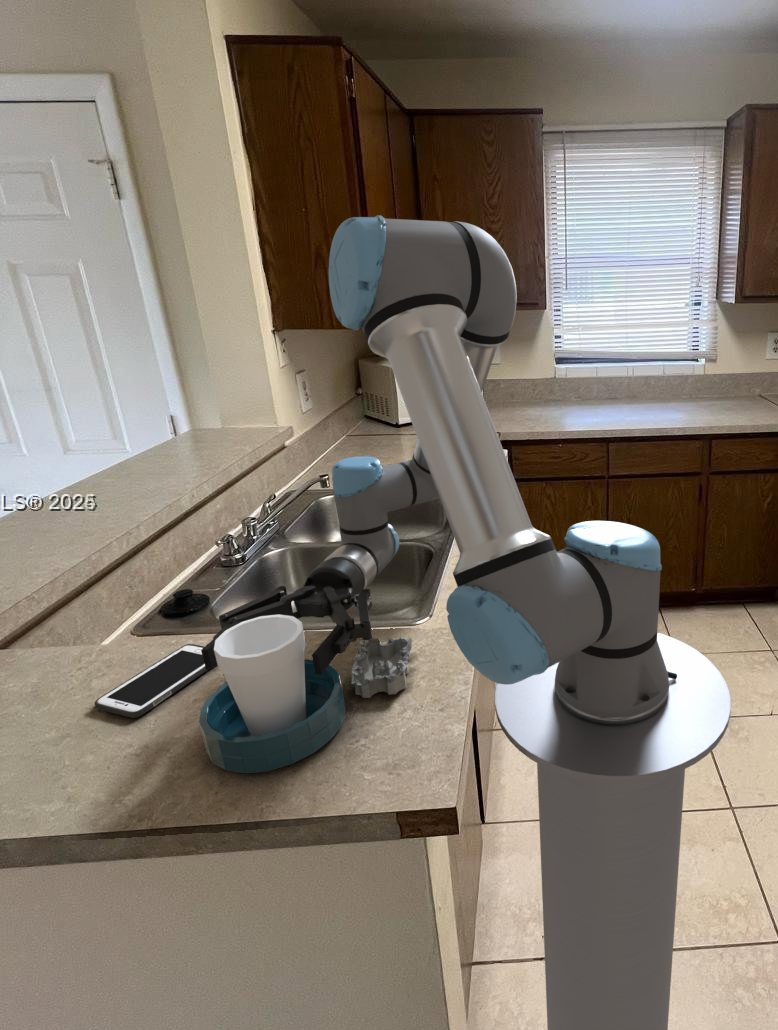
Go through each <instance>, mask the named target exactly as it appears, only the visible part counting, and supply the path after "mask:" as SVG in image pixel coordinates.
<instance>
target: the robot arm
mask: <svg viewBox="0 0 778 1030" xmlns="http://www.w3.org/2000/svg"><path fill="white" fill-rule="evenodd" d="M328 287H329V295H330V300H331V301H330V302H331V304H332V308H333V312H334V314H335V316H336V317H335V318H336V319H337V320H338V322H340V324H341V326H343V327H345V328H346V329H351V330H352V331H359V330H362V332H363V335H364V337H365V338H366V342H367V344H368V347H369V349H370V351H372V353H373V354H375V355H378V356H379V357H382V358H385V359H387V360H388V362H389V365H390V368H391V371H392V373H393V375H394V379H395V381H396V384H397V386H398V389H399V392H400V395H401V397H402V400H403V402H404V405H405V408H406V411H407V414H408V417H409V420H410V422H411V424H412V428H413V429H414V433H415V435H416V443H415V445H414V446H415V447H414V451H413V455H412V456H411V457H412V458H411V459H410V460H406V461H401V462H396V463H391V464H386V465H382V463H381V462H380V460H379V459H378V458H377V457H373V456H367V455H361V456H352V457H347V458H343V459H340V460H337V462H335V463H334V464H333V466H332V469H331V482H332V495H333V498H334V503H335V508H336V514H337V520H338V525H339V534H340V541H341V544H340V545H339V546H338V547H337V548H336V549H335V550H334V551H332V552H331V553H330V554H329V555H328V556H327V557H326V558H325V559H324V560H323V561H322V562H321V563H320V564H319V565H317V566H316V567H315V568H314V569H313V570H312V571H311V572H310V573H309V574H308V576H307V578H306V580H305V582H304V585H303V586H301V587H300V588H298V589H296V590H294V591H289V590H287V587H286V585H279V586H277V587H276V588H274V589H273V590H272V591H269V592H268V593H266V594H264V595H261V596H260V597H257V598H255V599H253V600H251V601H248V602H246V603H244V604H242V605H239V606H237V607H235V608H233V609H231V610H228V611H225V612H224V613H222V614H220V615H219V616H218V620H219V624H220V628H221V630H219V631H218V632H217V633H216V634H214V635H213V637H212V640H211V641H209V642H208V643H207V644H206V645H205V646H204V648H203V649H202V650H201V652H202V656H203V659H204V663H205V667H206V669H209V670H213V669H215V668H216V666H218V664H217V660H216V656H215V652H214V645H215V640H216V639H217V638H218V637H219V636H220V635H221V634H222V633H223V632H224V631H225V630H227V629H229V628H231V627H233V626H235V625H237V624H239V623H241V622H243V621H247V620H250V619H253V618H257V617H260V616H269V615H278V614H279V615H287V616H293V617H295V618H296V619H298V620H299V619H301V618H309V617H314V618H324V617H330V619H331V621H332V622H333V623H335V627H334V628H333V629H332V630H331V631H330V632H329V633H328V635H327V636H326V637H325V638H324V640H323V641H321V643H320V644H319V646H318V647H317V648H315V650H314V651H313V652H312V654H311V658H312V659H311V660H313V665H314V670H315V674H319V675H321V674H322V673H323V672H324V671H325V669H326V668H327V667H328V666H329V665H331V663H332V662H333V660H334V659H335V658H336V657H337V656H338V655H341V654H343V653H345V652H346V651H347V649H348V648H349V646H351V644H352V643H354V642H356V641H358V639H361V638H363V640H370V639H372V637H373V630H372V624H371V618H370V611H371V608H372V607H373V600H372V593H371V589H370V588H369V586H370V585H371V584H372V583H373V582H374V581H375V579H376V578H377V577H378V575H380V574H381V572H383V570H384V569H385V568H387V566H388V565H389V564H391V562H392V561H393V559H394V558H395V555H396V554H397V553H398V551H399V549H400V536H399V534H398V533H397V531H396V530H395V528H394V526H393V525H392V524H390V523H389V519H388V518H389V517H388V513H390V512H394V511H398V510H401V509H405V508H409V507H413V506H416V505H421V504H424V503H427V502H432V501H436V500H440V503H441V506H442V508H443V511H444V513H445V517H446V519H447V521H448V524H449V527H450V530H451V532H452V533H451V534H452V535H453V538H454V540H455V543H456V546H457V549H458V551H459V558H458V560H457V563H456V564H455V567H454V570H453V571H452V575H453V579H454V581H455V584H456V588H454V590H452V592H451V593H450V594H449V596H448V597H447V601H446V612H447V622H448V626H449V630H450V632H451V635H452V636H453V639H454V642H455V643H456V645H457V647H458V648H459V650H460V652H461V653H462V655H463V656H464V658H465V659H466V660H467V661H468V662H469V664H470V665H471V666H472V667H473V668H474V669H475V670H477V671H478V672H479V673H480V674H481V675H482V676H483V677H485V678H486V679H488V680H489V681H491V682H493V683H496V684H497V683H499V684H505V685H509V684H515V683H518V682H520V681H522V680H524V679H526V678H529V677H531V676H533V675H539V674H542V673H543V672H545V670H546V669H548V668H549V667H551V666H552V665H554V664H556V663H558V662H559V664H558V666H557V670H556V675H555V693H556V697H557V699H558V701H559V703H560V704H561V705H562V707H563V708H564V709H565V710H567V711H568V712H569V713H570V714H572V715H574V716H575V717H577V718H579V719H581V720H584V721H586V722H590V723H593V724H598V725H605V726H623V725H630V724H635V723H638V722H641V721H644V720H646V719H649V718H650V717H652V716H654V715H655V714H657V713H658V712H659V711H660V710H661V709H662V708H663V707H664V705H665V704H666V702H667V699H668V695H669V678H672V679H677V674H675V673H672V672H669V671H667V669H666V666H665V663H664V660H663V657H662V653H661V650H660V647H659V644H658V641H657V633H658V629H659V628H658V627H659V609H660V590H661V589H660V588H661V571H662V568H663V566H662V563H661V546H660V542H659V540H658V539H657V538H656V536H655V535H654V534H652V533H651V532H650V531H648V530H646V529H644V528H641V527H638V526H637V525H633V524H629V523H625V522H619V521H612V520H611V521H610V520H588V521H582V522H578V523H575V524H572V525H571V526H569V528H568V529H567V532H566V535H565V537H564V543H565V547H564V548H563V549H560V550H558V551H557V549H556V547H555V545H554V542H553V539H552V537H551V535H549V534H547V533H545V532H542V531H541V530H538V529H537V528H535V527H534V526H533V524H532V522H531V519H530V516H529V514H528V511H527V508H526V505H525V503H524V501H523V499H522V496H521V493H520V491H519V488H518V485H517V482H516V480H515V477H514V474H513V472H512V469H511V466H510V463H509V461H508V459H507V456H506V453H505V450H504V448H503V446H502V442H501V440H500V438H499V435H498V432H497V430H496V427H495V424H494V422H493V419H492V417H491V414H490V411H489V409H488V406H487V403H486V401H485V398H484V396H483V390H484V388H485V384H486V381H487V378H488V375H489V373H490V369H491V367H492V363H493V360H494V358H495V354H496V352H497V349H498V346H501V345H503V344H505V343H506V342H507V340H508V339H509V337H510V334H511V331H512V327H513V325H514V321H515V317H516V312H517V311H516V309H517V302H518V301H517V298H518V295H517V294H518V293H517V284H516V279H515V274H514V270H513V267H512V264H511V262H510V260H509V258H508V256H507V253H506V252H505V250H504V249H503V248H502V246H501V244H499V242H498V241H497V240H496V239H495V238H494V237H493V236H492V235H491V234H489V233H488V232H487V231H485V230H484V229H482V228H480V227H479V226H477V225H474V224H471V223H468V222H465V221H454V220H451V221H441V220H421V219H403V218H402V219H400V218H385V217H383V216H382V215H379V214H377V215H376V216H353V217H349V218H347V219H345V220H343V222H341V223H340V225H339V226H338V227H337V228H336V231H335V233H334V235H333V238H332V241H331V245H330V251H329V257H328ZM292 602H293V604H294V607H295V609H296V611H294V610H293V605H292ZM352 606H355V608H357V611H358V615H359V616H358V617H359V623H355V617H354V616H353V617H351V616H350V614H349V613H348V610H349V609H350V608H351V607H352ZM668 677H669V678H668Z"/></svg>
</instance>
